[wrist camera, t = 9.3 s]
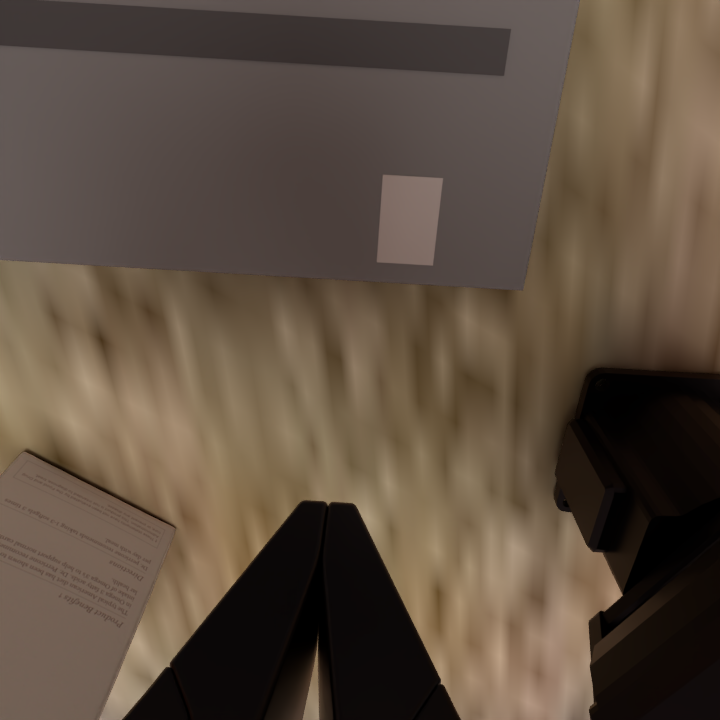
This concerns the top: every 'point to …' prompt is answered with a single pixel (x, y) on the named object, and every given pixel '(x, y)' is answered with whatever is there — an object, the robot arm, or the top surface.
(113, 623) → the supplement box
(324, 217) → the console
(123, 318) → the top surface
